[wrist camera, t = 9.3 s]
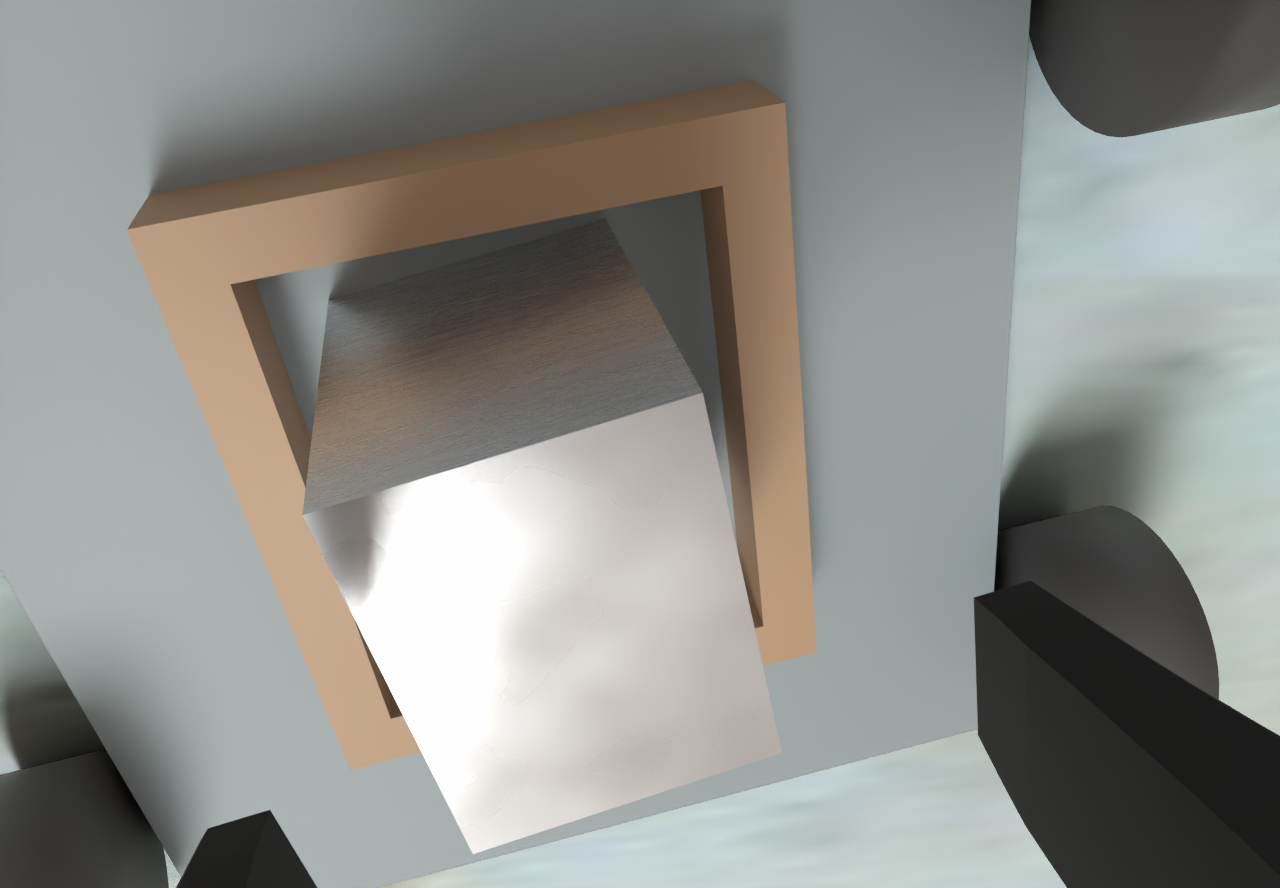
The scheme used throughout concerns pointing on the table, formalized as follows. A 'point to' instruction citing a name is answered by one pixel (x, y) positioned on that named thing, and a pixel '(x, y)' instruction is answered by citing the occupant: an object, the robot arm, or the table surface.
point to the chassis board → (488, 221)
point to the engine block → (536, 534)
